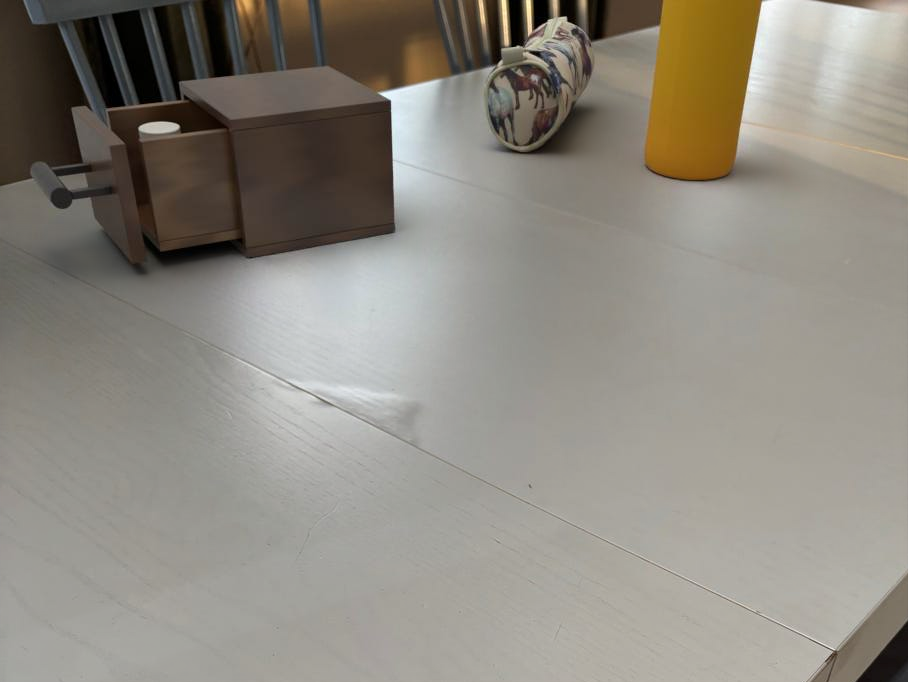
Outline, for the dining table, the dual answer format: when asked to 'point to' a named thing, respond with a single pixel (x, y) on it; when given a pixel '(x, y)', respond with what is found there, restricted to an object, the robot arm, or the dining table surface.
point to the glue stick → (158, 129)
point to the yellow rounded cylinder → (700, 86)
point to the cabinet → (304, 156)
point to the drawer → (152, 177)
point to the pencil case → (538, 84)
